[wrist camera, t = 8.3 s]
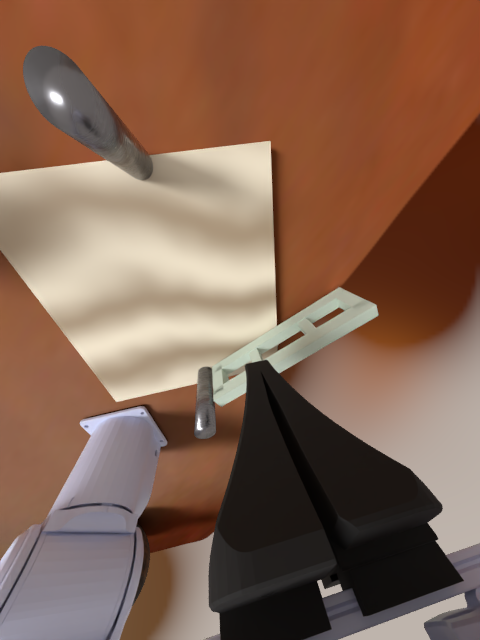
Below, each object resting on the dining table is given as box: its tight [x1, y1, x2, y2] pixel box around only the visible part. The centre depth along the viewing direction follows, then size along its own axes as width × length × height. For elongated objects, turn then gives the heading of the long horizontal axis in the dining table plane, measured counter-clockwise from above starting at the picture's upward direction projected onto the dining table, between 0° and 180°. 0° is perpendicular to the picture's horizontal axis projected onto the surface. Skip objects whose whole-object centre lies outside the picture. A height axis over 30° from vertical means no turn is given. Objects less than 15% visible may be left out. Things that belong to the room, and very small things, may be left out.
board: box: [0, 141, 278, 402], centre depth 17 cm, size 21×20×1 cm
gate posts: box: [23, 46, 216, 439], centre depth 13 cm, size 21×2×7 cm, turn 8°
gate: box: [212, 287, 378, 407], centre depth 17 cm, size 16×1×4 cm, turn 122°
